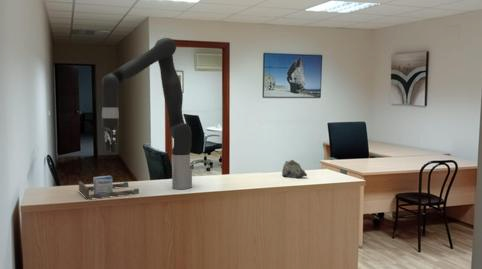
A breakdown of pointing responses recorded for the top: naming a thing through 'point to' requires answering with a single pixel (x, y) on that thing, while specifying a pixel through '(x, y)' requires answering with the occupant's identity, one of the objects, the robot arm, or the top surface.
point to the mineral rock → (292, 169)
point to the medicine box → (102, 184)
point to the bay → (85, 192)
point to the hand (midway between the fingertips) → (110, 151)
